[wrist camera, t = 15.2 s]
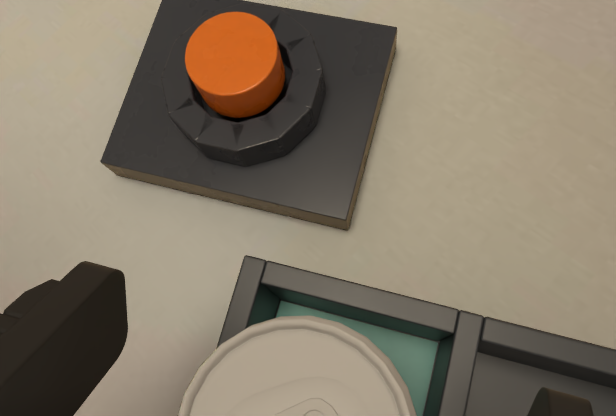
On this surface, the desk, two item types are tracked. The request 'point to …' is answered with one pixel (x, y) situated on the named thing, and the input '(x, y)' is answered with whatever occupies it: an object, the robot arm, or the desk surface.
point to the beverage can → (297, 374)
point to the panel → (259, 115)
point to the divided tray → (433, 343)
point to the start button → (235, 64)
